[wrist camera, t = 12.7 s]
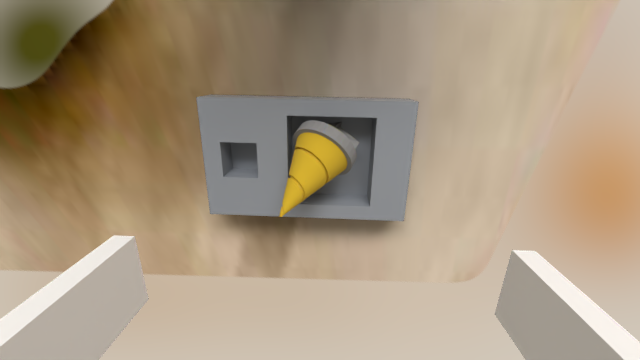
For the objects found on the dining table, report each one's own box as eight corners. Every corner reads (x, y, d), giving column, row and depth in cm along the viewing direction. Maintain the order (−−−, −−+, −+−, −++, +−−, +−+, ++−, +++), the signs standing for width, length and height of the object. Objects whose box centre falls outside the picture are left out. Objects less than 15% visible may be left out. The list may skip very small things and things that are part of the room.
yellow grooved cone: (371, 150, 27) (317, 245, 22) (319, 134, 29) (261, 219, 24) (371, 105, 22) (304, 213, 18) (310, 89, 24) (237, 183, 20)
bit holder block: (222, 200, 29) (210, 213, 26) (211, 94, 26) (196, 97, 23) (396, 206, 28) (403, 221, 26) (409, 98, 25) (418, 101, 22)
